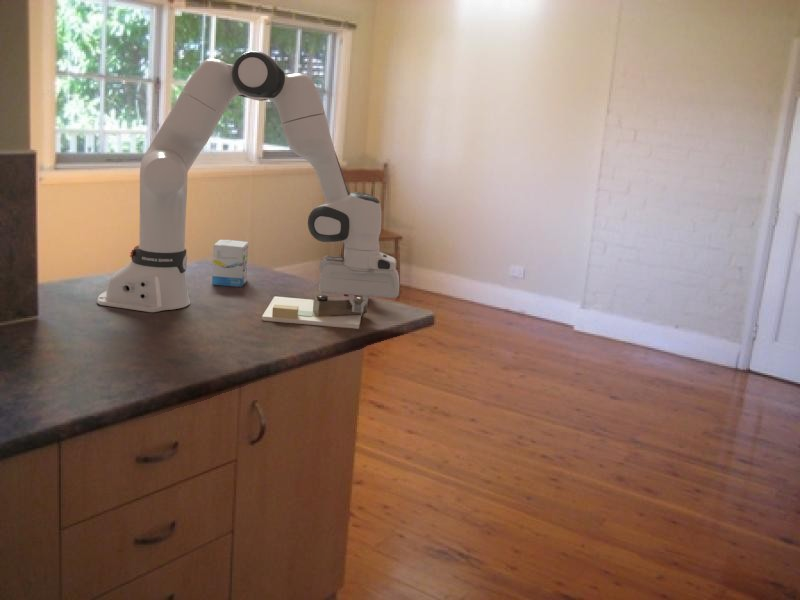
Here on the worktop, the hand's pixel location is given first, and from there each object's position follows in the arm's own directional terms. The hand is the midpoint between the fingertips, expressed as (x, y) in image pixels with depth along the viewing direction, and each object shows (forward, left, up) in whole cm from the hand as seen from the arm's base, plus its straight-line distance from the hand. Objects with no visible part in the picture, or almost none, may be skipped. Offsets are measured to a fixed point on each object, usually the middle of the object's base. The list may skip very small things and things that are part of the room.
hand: (357, 311), depth 222 cm
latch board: (-11, +3, -3) cm, 12 cm away
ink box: (-38, +28, -3) cm, 47 cm away
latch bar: (-4, +2, -1) cm, 5 cm away
